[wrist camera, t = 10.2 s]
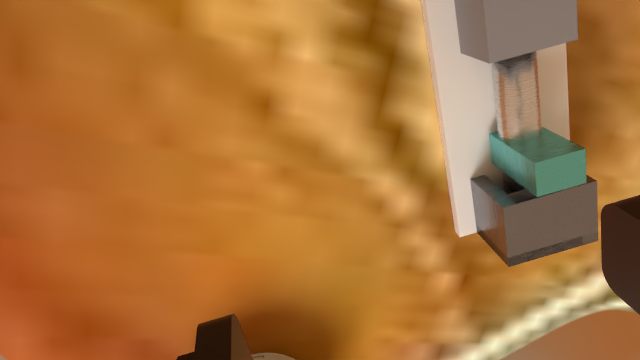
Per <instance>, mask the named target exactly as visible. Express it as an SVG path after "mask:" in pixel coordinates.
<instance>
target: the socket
mask: <svg viewBox="0 0 640 360" xmlns="http://www.w3.org/2000/svg"><path fill="white" fill-rule="evenodd" d="M470 182H471V190H472V198H473V206H474V213H475V221H476V229H477V233H478V234H479V235H480V236H481V237H482V238H483V239H484V240H485V241H486V243H487V244H488V245H489V246H490V247H491V248H492V249H493V250H494V251H495V252H496V253H497V254H498V256H499V257H500V258H501V259H502V260H503V261H504V262H505V263H506V264H507V265H508V266H509V267H510V266H514V265H517V264H520V263H524V262H527V261H531V260H534V259H537V258H541V257H544V256H548V255H551V254H554V253H558V252H561V251H565V250H568V249H571V248H575V247H578V246H581V245H585V244H588V243H592V242H595V241H598V213H597V181H596V180H595V179H593V178H591V177H589V176H588V175H586V182H587V183H584V184H581V185H577V186H574V187H570V188H567V189H563V190H560V191H557V192H553V193H550V194H546V195H543V196H539V197H536V196H535V195H534V194H532V193H531V192H530V191H528V190H527V189H524V190H521V191H517V192H514V193H511V194H507V193H506V192H505V191H503V190H502V189H501V188H500V187H499V186H497V185H496V184H495V183H494V182H493V181H491V180H490V179H489V178H488V177H486V176H485V175H482V176H478V177H475V178H471V179H470Z"/></svg>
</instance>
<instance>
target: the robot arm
mask: <svg viewBox="0 0 640 360" xmlns="http://www.w3.org/2000/svg"><path fill="white" fill-rule="evenodd" d="M601 249H602V270H603V274H604V276H605V279H606V281H607V283H608V285H609V286H610V288H611V289H612V290H613V292H614V293H615V294H616V295H617V296H619V297H620V298H621V299H622V300H623V301H624V302H626V303H627V304H628V305H629V306H630V307H631V308H633V309H634V310H635V311H636V312H637V313H638V314H640V195H638V196H635V197H631V198H628V199H625V200H621V201H618V202H615V203H611V204H608V205H605V206H604V207H603V209H602V212H601ZM176 360H253V358H252V355H251V352H250V350H249V347H248V345H247V342H246V339H245V337H244V334H243V332H242V329H241V326H240V324H239V321H238V319H237V317H236V316H235V314H231V315H228V316H225V317H221V318H218V319H214V320H211V321H208V322H204V323H201V324H199V325H198V327H197V335H196V344H195V352H192V353H188V354H185V355H182V356H178V358H177V359H176Z"/></svg>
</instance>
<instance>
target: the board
mask: <svg viewBox="0 0 640 360" xmlns="http://www.w3.org/2000/svg"><path fill="white" fill-rule="evenodd" d="M421 5H422V12H423V19H424V25H425V32H426V39H427V45H428V52H429V59H430V66H431V72H432V79H433V86H434V92H435V99H436V106H437V113H438V119H439V126H440V133H441V140H442V146H443V153H444V160H445V166H446V173H447V180H448V187H449V193H450V200H451V207H452V213H453V220H454V227H455V232H456V233H457V234H458V235H459V237H462V236H465V235H469V234H472V233H476V232H477V229H476V221H475V213H474V206H473V198H472V190H471V182H470V179H471V178H475V177H478V176H482V175H485V176H486V177H488V178H489V179H490V180H491V181H493V182H494V183H495V184H496V185H497V186H499V187H500V188H501V189H502V190H503V191H504V187H503V177H502V170H500V169H499V168H498V167H496V166H495V165H494V164H492V159H491V150H490V141H489V133H493V132H496V131H498V128H497V118H496V108H495V98H494V88H493V78H492V68H491V63H494V62H498V61H501V60H505V59H509V58H512V57H516V56H520V55H523V54H527V53H531V52H534V51H537V66H538V81H539V97H540V113H541V126H542V127H544V128H546V129H548V130H550V131H552V132H554V133H556V134H558V135H560V136H562V137H564V138H565V139H567V140H569V141H570V128H569V103H568V79H567V54H566V43H567V42H571V41H574V40H578V24H577V0H421Z"/></svg>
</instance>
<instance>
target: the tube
mask: <svg viewBox="0 0 640 360" xmlns="http://www.w3.org/2000/svg"><path fill="white" fill-rule="evenodd" d="M491 68H492V78H493V88H494V98H495V108H496V118H497V128H498V131H496V132H493V133H489V141H490V150H491V159H492V164H494V165H495V166H496V167H498V168H499V169H500V170H502V177H503V187H504V191H505V192H506V193H507V194H511V193H514V192H517V191H521V190H524V189H527V190H528V191H530V192H531V193H532V194H534V195H535V196H536V197H539V196H543V195H546V194H550V193H553V192H557V191H560V190H563V189H567V188H570V187H574V186H577V185H581V184H584V183H587V182H586V149H585V148H583V147H581V146H579V145H577V144H575V143H573V142H571V141H569V140H567V139H565V138H564V137H562V136H560V135H558V134H556V133H554V132H552V131H550V130H548V129H546V128H544V127H542V126H541V113H540V97H539V81H538V66H537V51H534V52H531V53H527V54H523V55H520V56H516V57H512V58H509V59H505V60H501V61H498V62H494V63H491Z"/></svg>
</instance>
